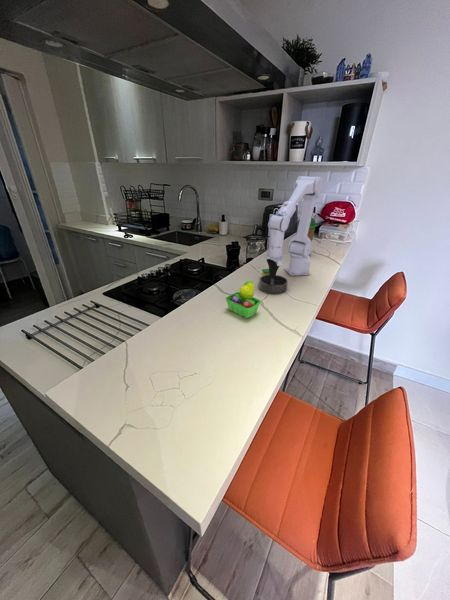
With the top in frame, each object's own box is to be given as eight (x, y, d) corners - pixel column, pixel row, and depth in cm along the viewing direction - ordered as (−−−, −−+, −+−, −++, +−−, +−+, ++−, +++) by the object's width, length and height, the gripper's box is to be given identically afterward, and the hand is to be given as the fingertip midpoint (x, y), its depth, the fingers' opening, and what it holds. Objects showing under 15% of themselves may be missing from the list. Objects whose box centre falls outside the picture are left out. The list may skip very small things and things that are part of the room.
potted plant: (312, 257, 151) (322, 207, 138) (294, 256, 151) (302, 206, 138) (307, 251, 161) (316, 204, 147) (290, 251, 161) (297, 203, 147)
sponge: (261, 277, 124) (262, 269, 122) (272, 277, 124) (273, 268, 122) (263, 280, 120) (264, 272, 118) (275, 280, 121) (276, 271, 119)
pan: (281, 281, 120) (282, 274, 118) (290, 293, 109) (292, 285, 107) (255, 282, 118) (256, 275, 116) (263, 294, 108) (263, 286, 106)
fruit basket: (224, 309, 96) (224, 282, 91) (239, 301, 102) (240, 275, 97) (247, 321, 90) (249, 292, 84) (262, 312, 95) (265, 284, 90)
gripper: (261, 240, 112) (259, 269, 119) (271, 251, 100) (268, 282, 106) (277, 240, 113) (274, 269, 120) (289, 250, 101) (284, 282, 107)
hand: (272, 275), depth 113 cm, fingers closed
